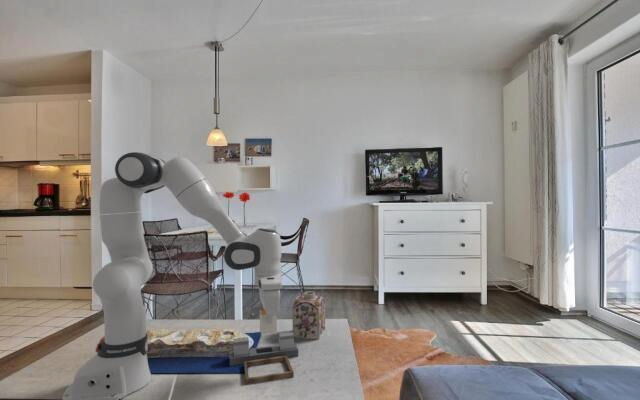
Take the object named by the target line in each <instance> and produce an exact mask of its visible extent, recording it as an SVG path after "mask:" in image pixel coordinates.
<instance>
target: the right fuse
mask: <svg viewBox="0 0 640 400" xmlns="http://www.w3.org/2000/svg"><path fill="white" fill-rule="evenodd" d="M294 343H295V337H294V334H293V331H287V332H282V333H278V345H279V350H288V349H294Z"/></svg>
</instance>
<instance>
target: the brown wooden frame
mask: <svg viewBox="0 0 640 400" xmlns="http://www.w3.org/2000/svg"><path fill="white" fill-rule="evenodd" d="M283 362H285V363H284V364H285V365H286V368H287V371H284V372H276V373H270V374H263V375H260V376H259V375H258V376H257V375H256V376H251V377H250V376H249V371H248V370H249V369H248V367H256V366H264V365H270V364H276V363H283ZM243 370H244V375H245V384H246V385H253V384H259V383H265V382H272V381H277V380H283V379H289V378H294V377H295V375H294V373H295V372H294V370H293V367H292V365H291V362H290V361H289V358H287V356H280V357H273V358H266V359H259V360H252V361H245V362H244V364H243Z"/></svg>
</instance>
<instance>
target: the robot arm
mask: <svg viewBox="0 0 640 400" xmlns="http://www.w3.org/2000/svg"><path fill="white" fill-rule="evenodd" d="M114 172H115V176H116V177H113V178H109V179H108V180H105V181H104V182H103V183H102V185H101V187H100V193H99V220H100V223H99V224H100V232H101V241H102V242H103V244H104V246H105V247H106V249H107V251H108V253H109V256H110V262H108V263H107V264H105V265H104V266H103V267H101V269H100V270H99V271H98V272H97V273H96V275H95V276H94V278H93V281H92V288H93V291H94V293H95V294H96V296H98V297H99V299H100V303H101V306H102V307H101V308H102V311H103V316H104V317H103V318H104V336H103V337H101V339H99V342H98V343H97V345H96V347H95V353H96V354H95V355H93V356H92V357H91V358H90V359H89V360H87V361H86V362H85V363H83V364H82V365H81V367H79V369H78V370H77V371H76V373H75V375H74V378H73V381H72V383H71V384H69V385H68V387H67V388H66V389H65V390H64V392H63V394H62V396H61V400H119V399H120V400H121V398H122V399H123V398H125V397H126V396H128V395H130V394H131V393H135V392H136V391H139V390H141V389H142V388H144V387H145V386H147V385H148V384H149V383H150V382H151V380H152V373H151V370H150V367H149V362H148V351H149V338H148V333H147V309H146V307H145V305H144V301H143V298H142V286H143V285H145V284H146V283H147V282H148V281H149V280H150V279H151V276H152V274H153V270H154V269H153V268H154V265H153V262H152V261H151V259H150V255H149V252H148V251H149V250H148V248H147V244H146V241H145V236H144V227H143V225H144V224H143V216H142V215H143V213H142V205H141V203H142V202H141V200H142V199H141V198H142V196H143V194H149V193H151V192H155V191H157V190H160V189H162V188H164V187H166V188H167V189H168V190H169V191H170V193H171V194H172V195H173V196H174V198H175V199H176V200H177V201H178V203H179V204H180V205H181V206H182V207H183V208H184V210H186V211H187V212H188V214H191V216H194V217H195V218H196V217H197V218H200V219H202V220H204V221H206V222H207V223H209V224H210V225H211V226H212V227H213V228H214V229H215V230H216V231H217V232H218V234H219V235H220V236H221V238H222V239H223V240H224V241H225V243H226V245H227V246H226V247H225V250H224V253H223V260H224V262H225V264H226V265H227V267H229V268H230V269H232V270H236V271H242V270H247V269H251V268H253V269H254V272H253V273H254V280H253V281H254V283H253V284H254V285H255V286H257V288H258V290H259V292H258V293H259V295H258V296H259V300H260V303H261V305H262V309H263V308H264V310H265V313H266V323H267V324H271V323H272V316H273V315H279V311H280V300H281V290H282V289H283V281H282V279H283V278H282V273H283V272H282V265H281V264H282V263H281V259H282V239H281V235H280V234H279V232H277V231H276V230H274V229H269V228H261V227H260V228H257V229H256V230H255V231H253V232H252V233H250V234H248V235H247V234H245V233H244V232H243V231H242V230H241V229H240V228H239V227H238V225H237V224H236V223H235V222H234V220H233V219H232V218H231V216H230V215H229V214H228V213H227V211H226V210H225V208H224V205H223V204H222V203H221V201H220V198H219V197H218V195H217V193H216V191H215V189H214V188H213V185H212V184H211V183H210V182H209V180H208V179H207V177H205V175H204V174H203V173H202V171H201V170H200V169H199V168H198V167H197V166H196V165H195V164H194V163H193V162H191V160H189V159H188V158H186V157H184V156H177V157H174V158H171V159H170V160H168V161H164V160H163V159H161V158H159V157H156V156H154V155H151V154H149V153H147V154H146V153H144V152H143V153H142V152H137V151H136V152H135V151H133V152H129V153H126V154H125V153H124V154H123V155H121V156H120V157H119V158H118V160H117V161H116V163H115V166H114Z"/></svg>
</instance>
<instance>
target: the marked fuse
mask: <svg viewBox="0 0 640 400" xmlns="http://www.w3.org/2000/svg"><path fill="white" fill-rule="evenodd" d="M277 315H278V314H277ZM277 315H273V316H272V323H271V324H267V323H266V313H265V310H264V308H263V307H262V308H259V332H260V334H261V335H265V334H266V335H268V334H274V333H277V332H278V331H277V330H278V329H277V327H278V326H277V324H278V322H277V321H278V319H277V318H278V317H277Z"/></svg>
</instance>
